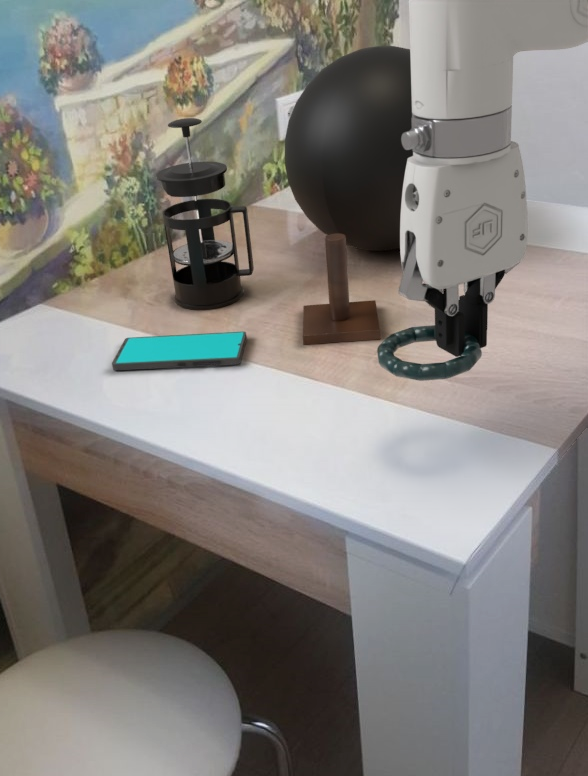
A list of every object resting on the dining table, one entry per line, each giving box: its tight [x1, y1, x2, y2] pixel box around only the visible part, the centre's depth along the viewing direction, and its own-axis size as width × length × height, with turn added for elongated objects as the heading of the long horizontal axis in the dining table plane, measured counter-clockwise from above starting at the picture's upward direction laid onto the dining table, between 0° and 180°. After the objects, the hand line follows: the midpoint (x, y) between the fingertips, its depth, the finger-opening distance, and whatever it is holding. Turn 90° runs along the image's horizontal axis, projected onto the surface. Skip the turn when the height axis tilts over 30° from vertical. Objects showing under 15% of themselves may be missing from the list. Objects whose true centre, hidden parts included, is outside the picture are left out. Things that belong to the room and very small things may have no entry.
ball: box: [284, 45, 413, 252], centre depth 123 cm, size 27×27×27 cm
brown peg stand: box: [302, 233, 381, 345], centre depth 104 cm, size 9×9×11 cm
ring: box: [376, 324, 483, 382], centre depth 77 cm, size 9×9×1 cm
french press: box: [155, 117, 255, 311], centre depth 113 cm, size 12×9×23 cm
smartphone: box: [111, 331, 248, 371], centre depth 104 cm, size 7×1×15 cm
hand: (461, 345), depth 78 cm, fingers closed on ring, 1 cm apart
